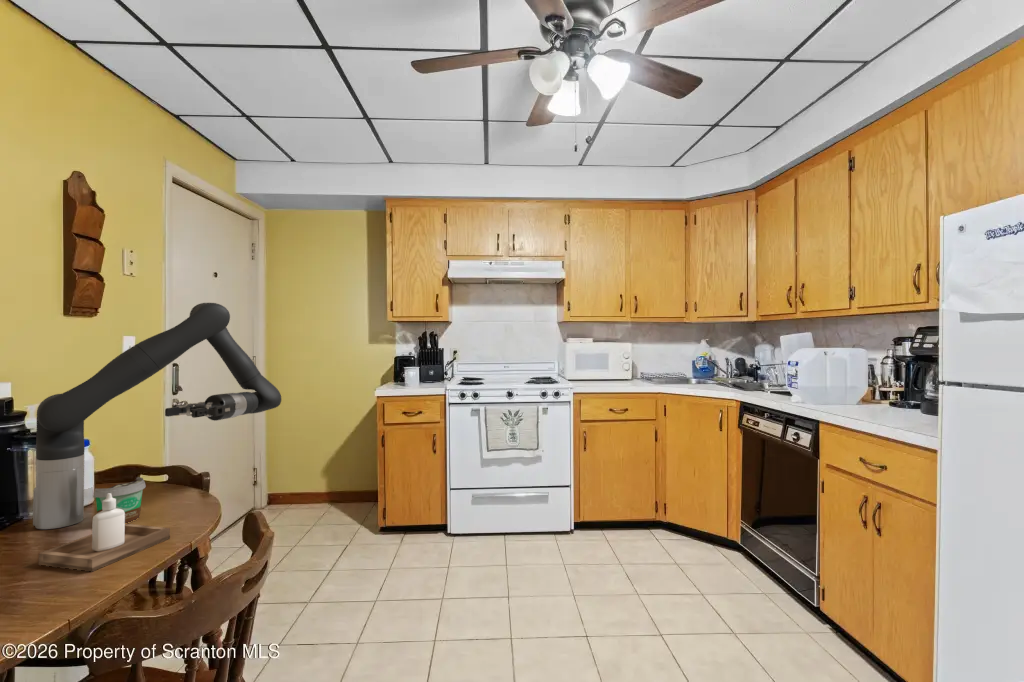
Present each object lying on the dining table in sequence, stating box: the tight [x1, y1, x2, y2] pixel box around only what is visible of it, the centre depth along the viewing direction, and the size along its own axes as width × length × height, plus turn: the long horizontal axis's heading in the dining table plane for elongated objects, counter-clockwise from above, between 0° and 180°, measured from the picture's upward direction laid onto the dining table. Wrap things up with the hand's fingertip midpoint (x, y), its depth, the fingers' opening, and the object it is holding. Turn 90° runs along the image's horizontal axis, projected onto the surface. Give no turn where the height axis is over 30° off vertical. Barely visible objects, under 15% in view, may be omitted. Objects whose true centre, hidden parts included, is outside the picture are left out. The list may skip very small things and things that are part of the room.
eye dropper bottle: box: [91, 493, 125, 552], centre depth 112 cm, size 4×6×12 cm
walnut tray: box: [38, 523, 171, 573], centre depth 112 cm, size 14×18×2 cm
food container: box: [92, 476, 147, 524], centre depth 131 cm, size 12×6×10 cm, turn 168°
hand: (179, 413), depth 134 cm, fingers open, 8 cm apart
